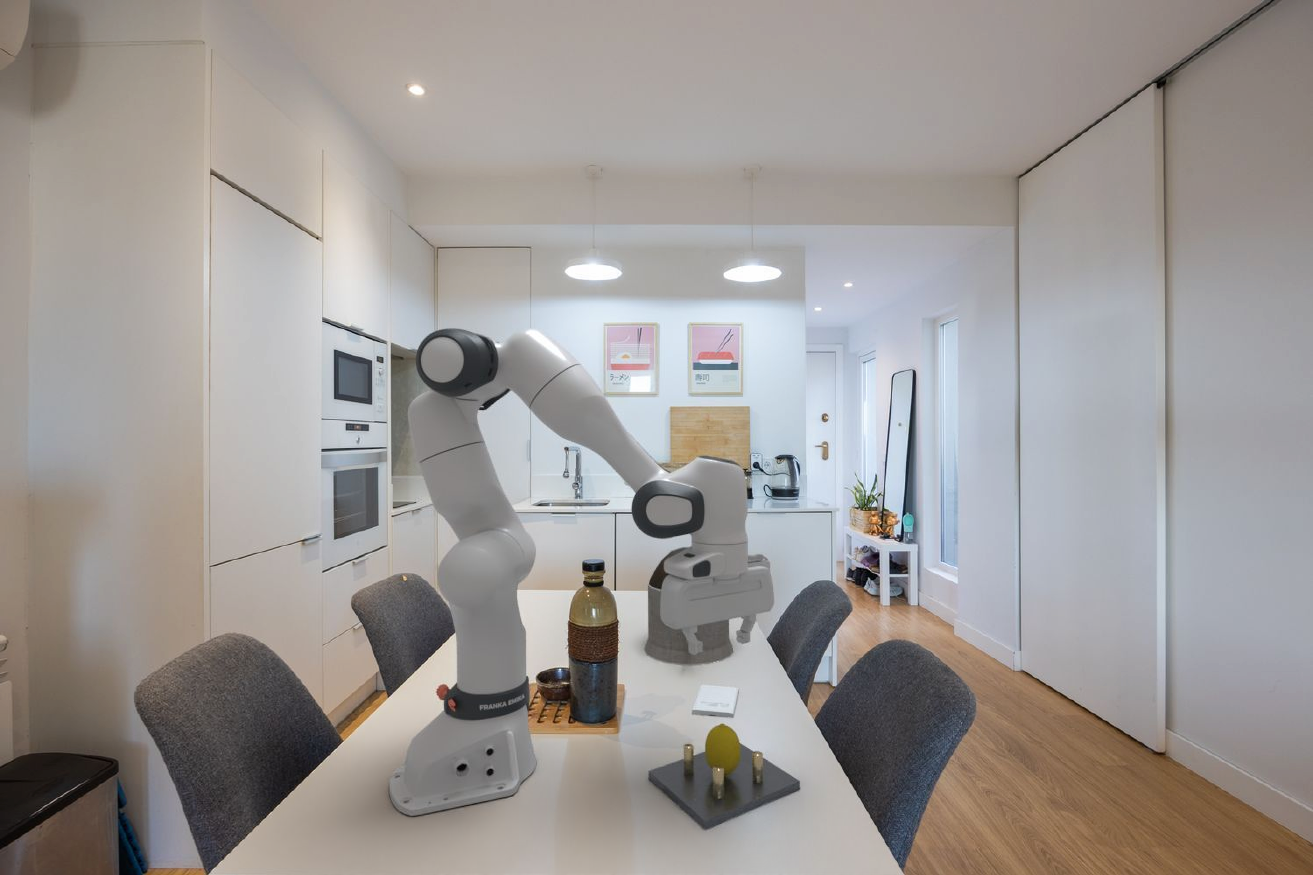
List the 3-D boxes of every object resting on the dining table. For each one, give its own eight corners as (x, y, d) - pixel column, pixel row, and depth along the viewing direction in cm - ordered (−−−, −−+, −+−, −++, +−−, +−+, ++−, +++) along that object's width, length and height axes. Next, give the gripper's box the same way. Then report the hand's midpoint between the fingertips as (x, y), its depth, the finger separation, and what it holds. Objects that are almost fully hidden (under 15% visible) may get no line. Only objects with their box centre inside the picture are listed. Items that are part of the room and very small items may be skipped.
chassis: (705, 829, 81) (704, 791, 81) (648, 778, 93) (648, 745, 93) (799, 788, 90) (799, 754, 90) (736, 747, 103) (736, 717, 103)
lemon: (737, 765, 95) (736, 715, 95) (744, 785, 89) (743, 731, 89) (702, 767, 94) (702, 716, 95) (707, 786, 89) (707, 733, 89)
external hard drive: (738, 695, 126) (733, 721, 114) (700, 691, 128) (691, 716, 116) (738, 687, 127) (733, 712, 114) (700, 684, 128) (691, 708, 116)
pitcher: (730, 635, 165) (729, 546, 166) (739, 679, 134) (738, 568, 134) (648, 634, 167) (647, 546, 167) (637, 678, 135) (636, 568, 136)
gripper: (756, 550, 101) (756, 631, 101) (654, 562, 90) (654, 653, 90) (782, 555, 96) (783, 641, 95) (677, 569, 85) (678, 666, 84)
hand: (720, 647), depth 92 cm, fingers open, 8 cm apart
